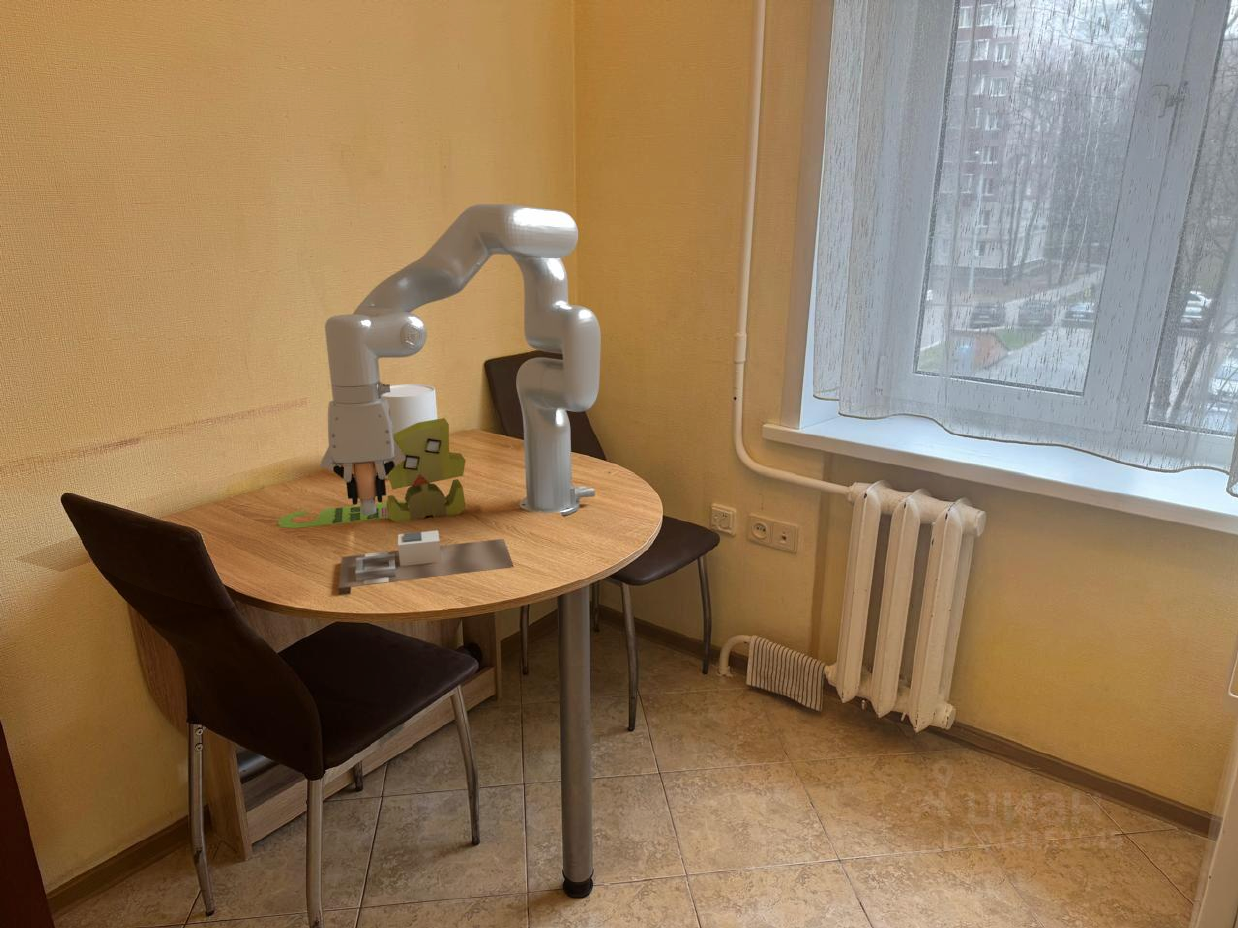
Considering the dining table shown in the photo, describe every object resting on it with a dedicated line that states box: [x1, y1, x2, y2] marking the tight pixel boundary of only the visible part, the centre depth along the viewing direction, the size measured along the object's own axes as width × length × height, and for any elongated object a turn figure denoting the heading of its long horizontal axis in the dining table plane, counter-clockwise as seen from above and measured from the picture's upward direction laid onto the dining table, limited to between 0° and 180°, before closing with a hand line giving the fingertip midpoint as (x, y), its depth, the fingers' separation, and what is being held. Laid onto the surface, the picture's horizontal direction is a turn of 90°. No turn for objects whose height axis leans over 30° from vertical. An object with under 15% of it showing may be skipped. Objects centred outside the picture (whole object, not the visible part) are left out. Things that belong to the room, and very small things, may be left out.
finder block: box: [397, 530, 441, 566], centre depth 146 cm, size 7×5×4 cm
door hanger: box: [277, 500, 404, 529], centre depth 171 cm, size 9×1×25 cm
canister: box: [381, 383, 439, 480], centre depth 195 cm, size 14×14×20 cm
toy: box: [386, 417, 467, 523], centre depth 166 cm, size 16×6×20 cm, turn 110°
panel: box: [338, 538, 515, 595], centre depth 146 cm, size 29×13×3 cm, turn 105°
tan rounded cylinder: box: [352, 462, 377, 515], centre depth 137 cm, size 3×3×9 cm
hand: (367, 499), depth 138 cm, fingers closed on tan rounded cylinder, 3 cm apart
